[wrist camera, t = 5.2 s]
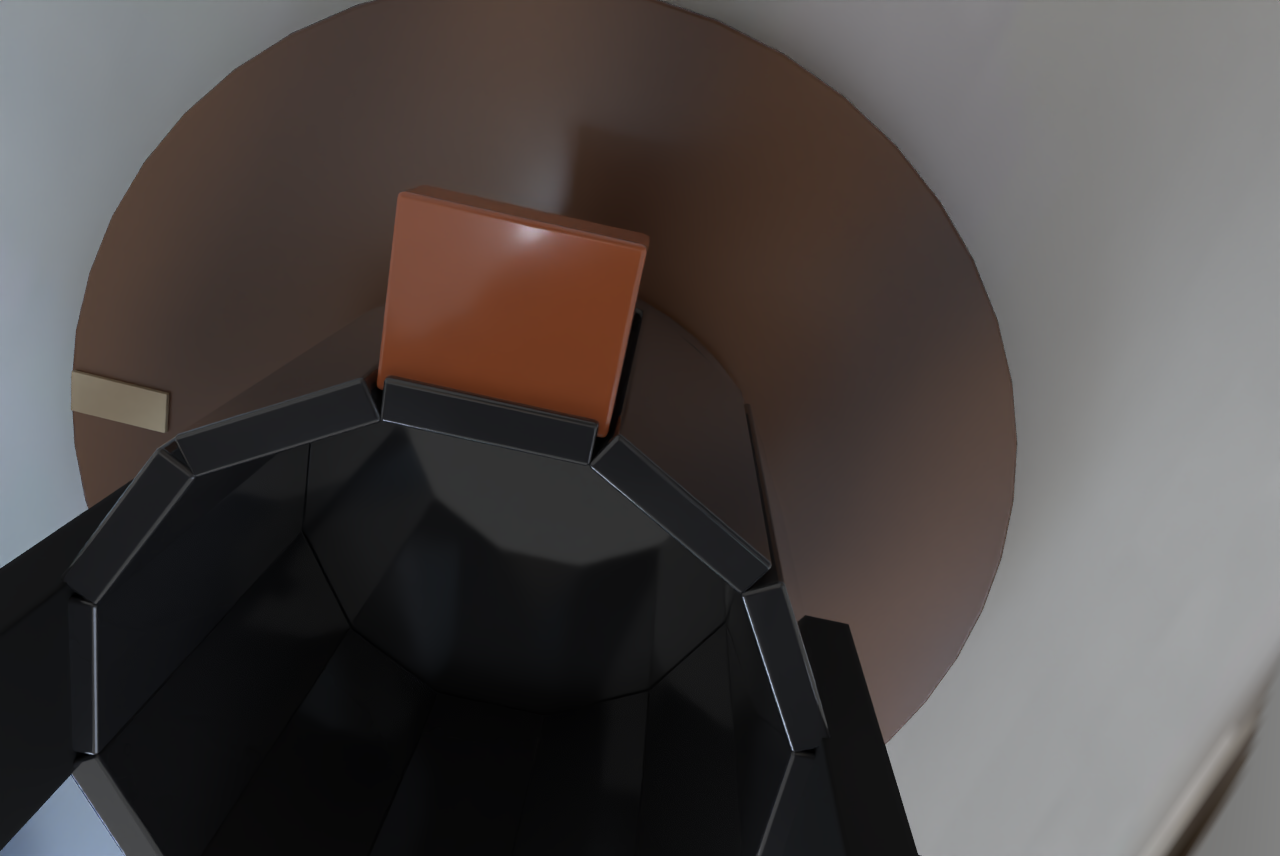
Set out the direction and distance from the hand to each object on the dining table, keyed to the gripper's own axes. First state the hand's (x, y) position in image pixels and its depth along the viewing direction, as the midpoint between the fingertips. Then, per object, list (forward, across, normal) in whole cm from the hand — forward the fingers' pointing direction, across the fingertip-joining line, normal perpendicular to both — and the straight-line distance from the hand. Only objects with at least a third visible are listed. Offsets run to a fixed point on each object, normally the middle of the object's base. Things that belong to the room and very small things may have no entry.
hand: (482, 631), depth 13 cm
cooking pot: (+4, 0, 0) cm, 4 cm away
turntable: (+6, 0, 0) cm, 6 cm away
